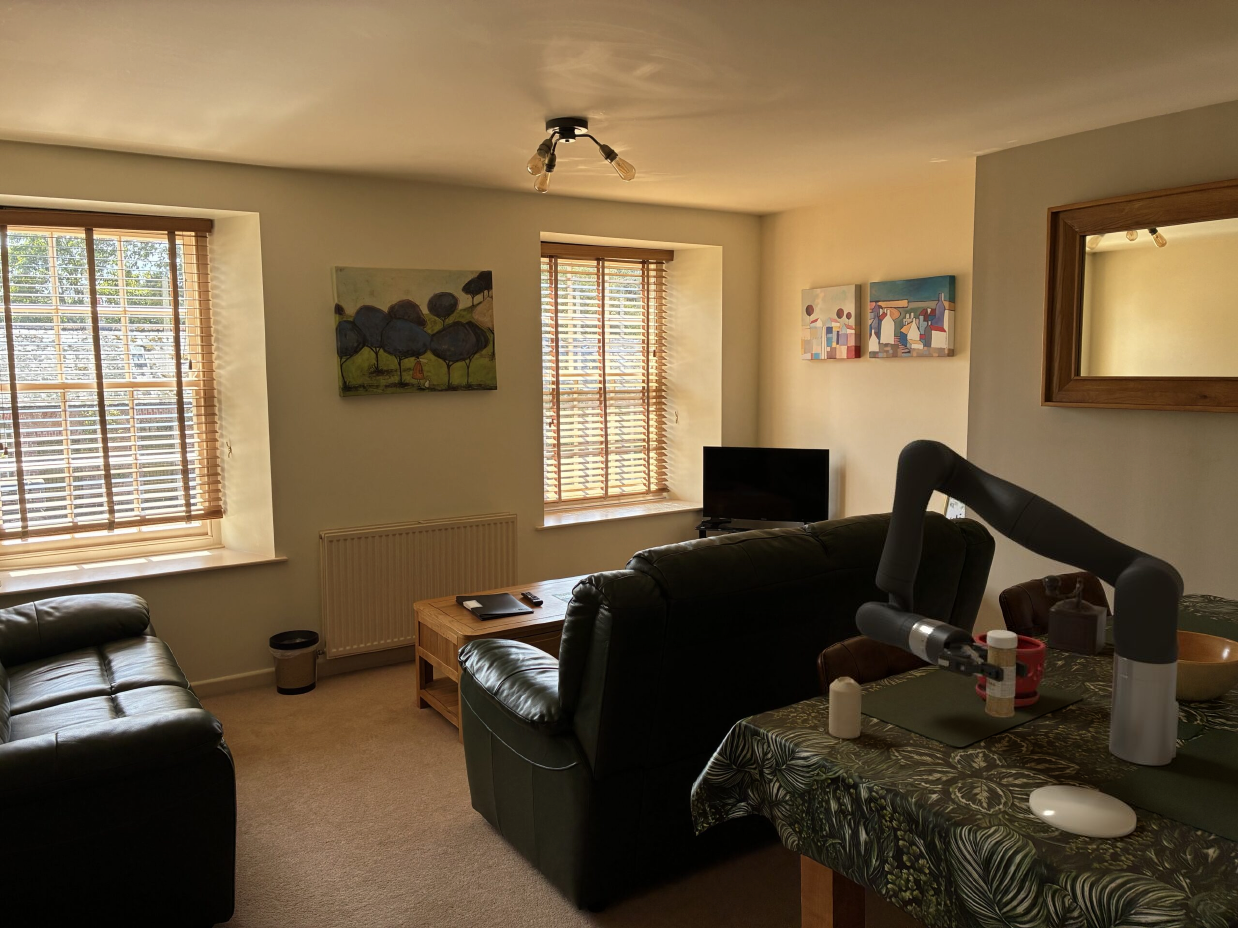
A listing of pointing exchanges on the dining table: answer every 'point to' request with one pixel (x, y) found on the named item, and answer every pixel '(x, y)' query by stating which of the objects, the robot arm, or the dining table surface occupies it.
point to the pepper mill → (1074, 621)
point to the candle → (845, 708)
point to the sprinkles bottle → (1004, 657)
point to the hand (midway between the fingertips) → (1013, 673)
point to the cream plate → (1082, 811)
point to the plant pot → (1028, 654)
